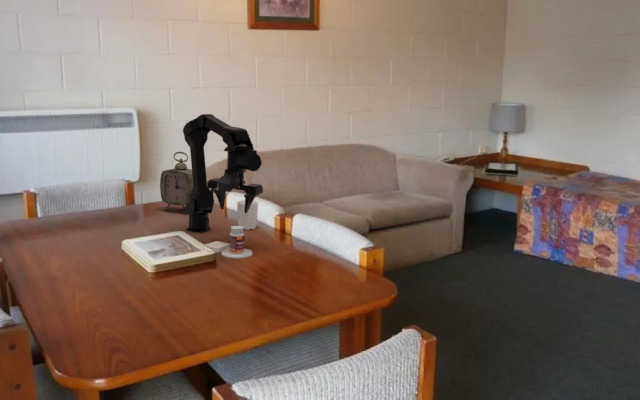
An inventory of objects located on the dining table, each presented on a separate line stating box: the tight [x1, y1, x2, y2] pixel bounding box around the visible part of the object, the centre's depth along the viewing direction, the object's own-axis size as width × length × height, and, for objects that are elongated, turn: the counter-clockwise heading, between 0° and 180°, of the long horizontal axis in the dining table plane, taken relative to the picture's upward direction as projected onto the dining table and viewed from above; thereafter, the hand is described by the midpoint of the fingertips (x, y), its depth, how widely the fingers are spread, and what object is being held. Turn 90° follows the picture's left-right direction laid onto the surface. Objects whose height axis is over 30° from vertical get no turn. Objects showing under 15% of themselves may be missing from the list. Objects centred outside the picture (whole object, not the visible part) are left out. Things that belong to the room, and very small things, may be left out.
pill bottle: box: [229, 225, 245, 254], centre depth 196 cm, size 5×5×8 cm
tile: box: [202, 240, 230, 253], centre depth 202 cm, size 6×2×7 cm
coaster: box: [221, 247, 253, 259], centre depth 197 cm, size 10×10×1 cm
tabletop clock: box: [159, 151, 193, 212], centre depth 250 cm, size 14×9×25 cm, turn 68°
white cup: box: [236, 199, 259, 231], centre depth 230 cm, size 8×8×10 cm
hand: (234, 211), depth 207 cm, fingers open, 9 cm apart
